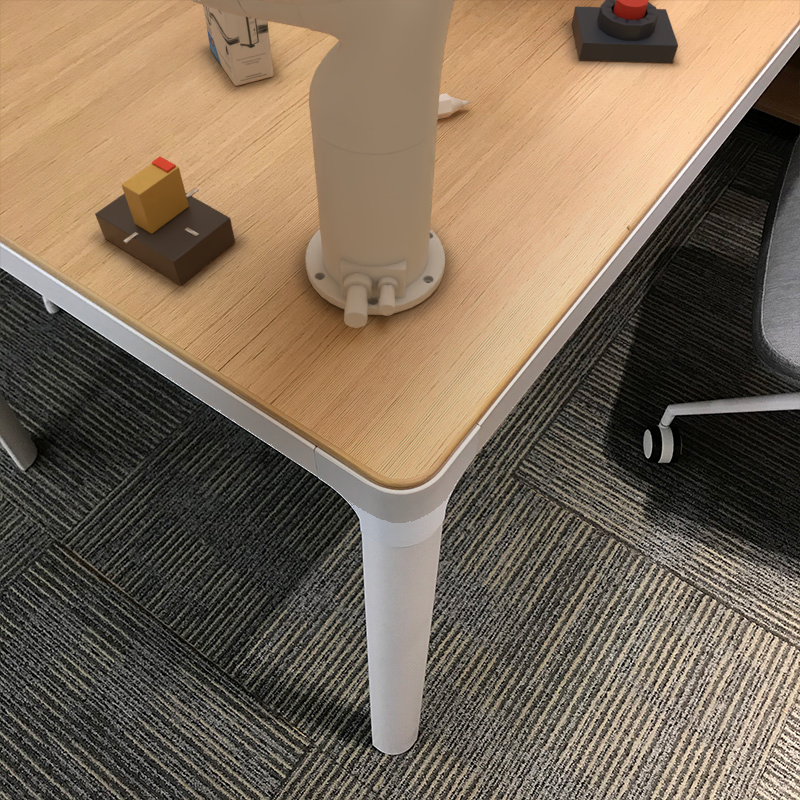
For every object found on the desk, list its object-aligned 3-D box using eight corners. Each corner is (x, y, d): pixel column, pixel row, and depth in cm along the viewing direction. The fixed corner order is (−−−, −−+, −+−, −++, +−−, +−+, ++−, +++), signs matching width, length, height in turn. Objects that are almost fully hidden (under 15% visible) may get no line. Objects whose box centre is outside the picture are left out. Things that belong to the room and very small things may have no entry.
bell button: (646, 22, 88) (651, 7, 87) (615, 21, 88) (619, 6, 87) (641, 5, 90) (645, -10, 89) (611, 5, 90) (614, -11, 89)
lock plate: (242, 237, 72) (237, 210, 69) (173, 292, 68) (165, 266, 65) (166, 193, 75) (158, 167, 72) (96, 244, 71) (85, 217, 68)
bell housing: (672, 63, 90) (683, 30, 87) (578, 60, 90) (586, 27, 86) (660, 26, 94) (670, -7, 91) (571, 23, 94) (578, -9, 91)
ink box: (209, 49, 90) (188, -58, 80) (249, 39, 91) (233, -67, 81) (234, 88, 85) (216, -21, 76) (276, 77, 87) (263, -31, 77)
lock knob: (151, 234, 67) (138, 192, 63) (134, 224, 68) (119, 181, 64) (189, 206, 69) (178, 164, 66) (172, 196, 70) (160, 154, 66)
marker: (471, 116, 84) (331, 141, 81) (466, 98, 84) (326, 122, 81) (478, 104, 82) (334, 130, 78) (473, 85, 82) (328, 110, 78)
